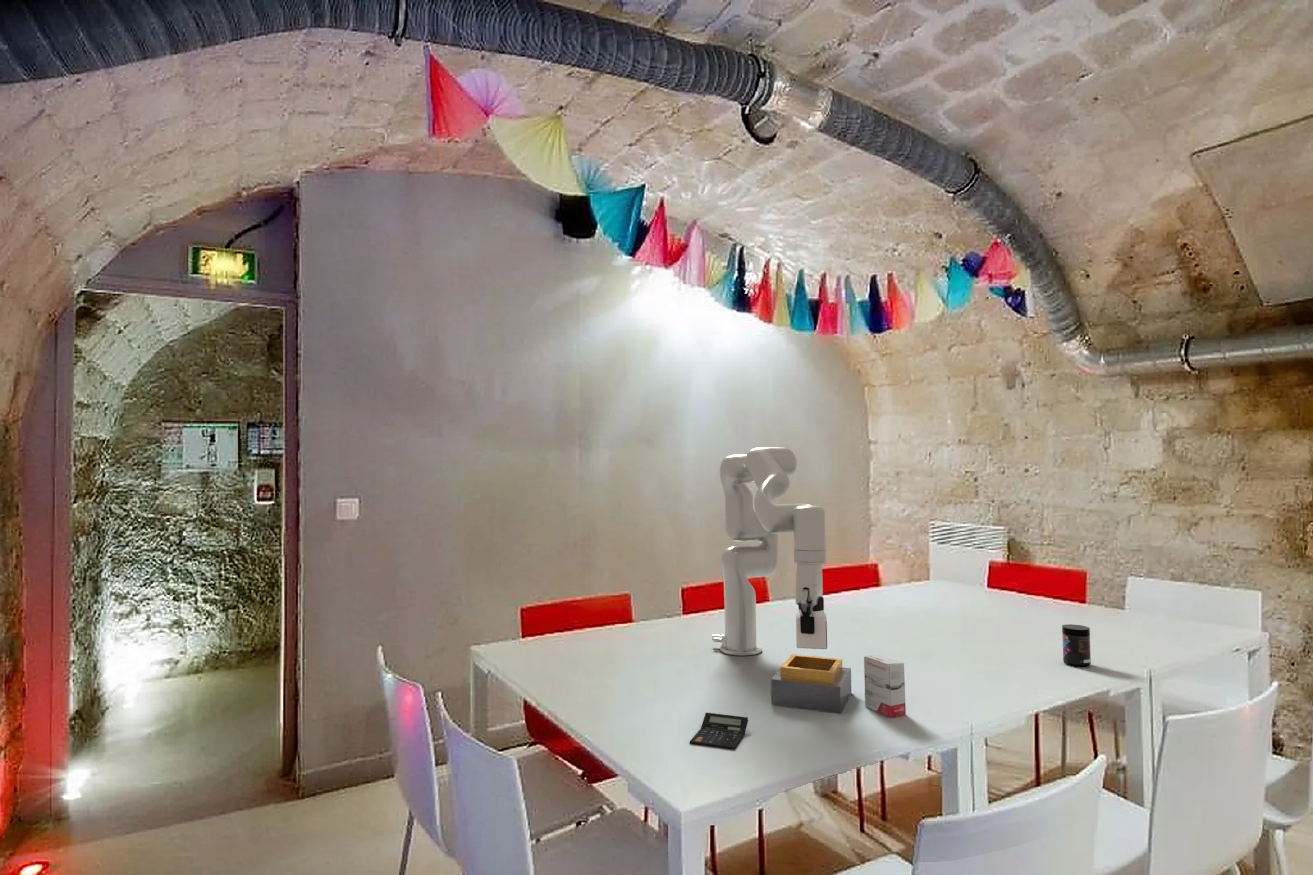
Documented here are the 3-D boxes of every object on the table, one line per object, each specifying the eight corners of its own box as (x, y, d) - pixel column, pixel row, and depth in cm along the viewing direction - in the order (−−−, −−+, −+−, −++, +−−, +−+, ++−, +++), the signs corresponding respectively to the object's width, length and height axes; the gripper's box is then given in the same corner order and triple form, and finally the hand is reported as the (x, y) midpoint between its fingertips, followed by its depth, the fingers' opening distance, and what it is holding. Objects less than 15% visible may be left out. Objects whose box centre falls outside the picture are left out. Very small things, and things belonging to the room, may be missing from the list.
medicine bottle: (827, 649, 168) (826, 598, 169) (796, 648, 170) (795, 597, 170) (826, 642, 175) (825, 592, 176) (797, 640, 177) (796, 592, 177)
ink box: (907, 715, 161) (905, 661, 161) (890, 718, 159) (889, 664, 159) (880, 703, 169) (879, 652, 169) (863, 706, 167) (862, 655, 167)
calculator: (689, 745, 145) (689, 730, 146) (706, 725, 156) (706, 711, 156) (734, 751, 142) (734, 736, 142) (748, 731, 153) (748, 716, 153)
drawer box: (771, 704, 168) (770, 668, 169) (789, 682, 185) (789, 649, 185) (840, 713, 162) (839, 675, 162) (852, 689, 179) (852, 655, 179)
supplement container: (1072, 660, 203) (1071, 623, 204) (1096, 666, 197) (1095, 628, 198) (1057, 663, 200) (1056, 626, 200) (1081, 669, 194) (1080, 630, 194)
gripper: (802, 552, 183) (803, 621, 182) (786, 560, 167) (787, 636, 166) (831, 553, 180) (833, 623, 179) (818, 562, 164) (819, 639, 163)
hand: (811, 629), depth 173 cm, fingers closed on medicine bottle, 8 cm apart
